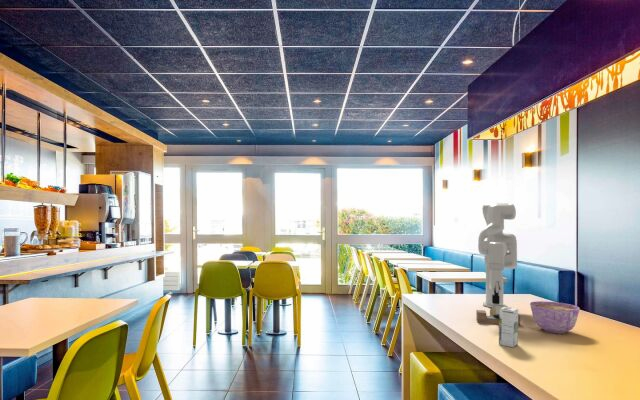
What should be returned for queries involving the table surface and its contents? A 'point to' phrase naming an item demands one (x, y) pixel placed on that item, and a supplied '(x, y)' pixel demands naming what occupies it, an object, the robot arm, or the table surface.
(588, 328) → the table surface
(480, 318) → the walnut cradle
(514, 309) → the syrup box
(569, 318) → the bowl of food
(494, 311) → the skincare box
